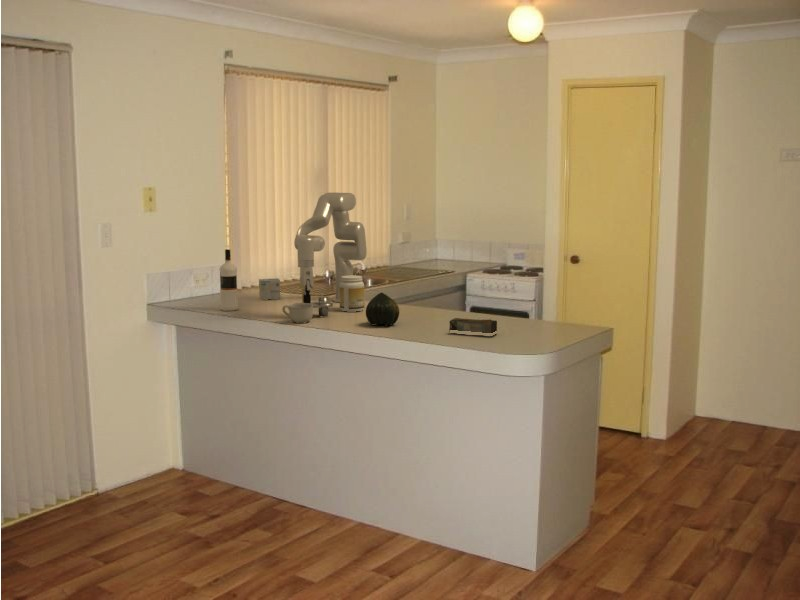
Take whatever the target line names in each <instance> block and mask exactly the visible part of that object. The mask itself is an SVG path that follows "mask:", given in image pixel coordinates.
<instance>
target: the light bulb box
mask: <svg viewBox="0 0 800 600" xmlns="http://www.w3.org/2000/svg"><path fill="white" fill-rule="evenodd" d="M258 289H259V292H258V293H259V300H260V299H261V300H260V301H269V300H268V299H276V300H281V280H280V279H279V278H277V277H276V278H258Z"/></svg>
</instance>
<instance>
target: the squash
mask: <svg viewBox="0 0 800 600" xmlns="http://www.w3.org/2000/svg"><path fill="white" fill-rule="evenodd" d="M365 308H366V309H365V317H366V320H367V321H368V323H369V324H370V325H372V324H379V325H384V326H385V325H390V326H392V325H394V324H396V323H397V322H398V320H399V317H400V308H399V305H398V303H397V302H396V301H395V300H394V299H393V298H391V297H390V296H388V295H387V294H386V293H383V292H379V293H378V294H376V295H375V296H374V297H373V298H372V299H370V301H369V302H368V304H367V305H366V307H365ZM391 324H392V325H391Z"/></svg>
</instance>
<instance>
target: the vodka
mask: <svg viewBox="0 0 800 600" xmlns="http://www.w3.org/2000/svg"><path fill="white" fill-rule="evenodd" d="M224 254H225V255H224V256H225V257H224V260H225V262H224V263H223V264H221V265H220V267H219V280H220V281H219V282H220V283H219V284H220V290H219V291H220V303H219V310H221V311H223V312H235V310H236V311H238V310H239V307H240V305H239V301H238V300H239V299H238V288H237V287H238V285H237V283H238V279H237V278H238V277H237V276H238V274H237V273H238V268H237V266H236V265H235V264H233V263H232V261H231V249H229V248H227V249H224Z"/></svg>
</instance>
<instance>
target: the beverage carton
mask: <svg viewBox="0 0 800 600" xmlns="http://www.w3.org/2000/svg"><path fill="white" fill-rule="evenodd" d="M448 330H449V331H450V330H458V331H471V332H482V333H493V332H495V331H497V332H498V321H497V320H494V319H493V320H492V319H475V318H474V319H473V318H471V319H470V318H459V317H454V318H452V319H450V320H449V329H448Z"/></svg>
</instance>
